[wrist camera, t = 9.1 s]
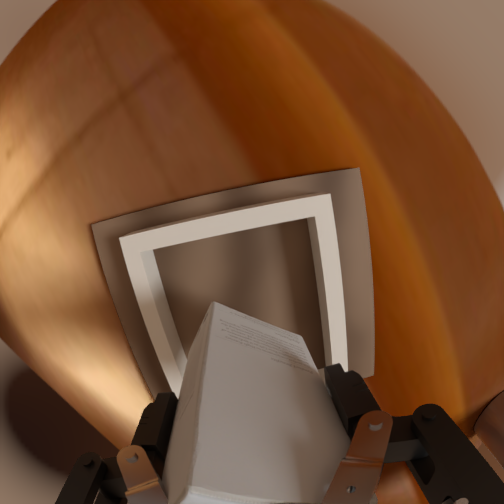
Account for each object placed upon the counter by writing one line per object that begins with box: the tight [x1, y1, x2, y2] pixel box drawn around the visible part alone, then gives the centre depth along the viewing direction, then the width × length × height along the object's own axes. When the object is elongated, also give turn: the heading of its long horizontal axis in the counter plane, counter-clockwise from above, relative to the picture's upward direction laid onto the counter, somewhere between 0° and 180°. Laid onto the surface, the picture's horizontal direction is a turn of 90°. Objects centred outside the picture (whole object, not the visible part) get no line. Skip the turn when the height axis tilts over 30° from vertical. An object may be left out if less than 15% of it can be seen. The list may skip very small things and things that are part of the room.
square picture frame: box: [119, 192, 348, 399], centre depth 20 cm, size 13×15×2 cm
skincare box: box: [162, 301, 378, 504], centre depth 11 cm, size 6×4×12 cm
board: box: [91, 168, 374, 400], centre depth 22 cm, size 20×18×1 cm
